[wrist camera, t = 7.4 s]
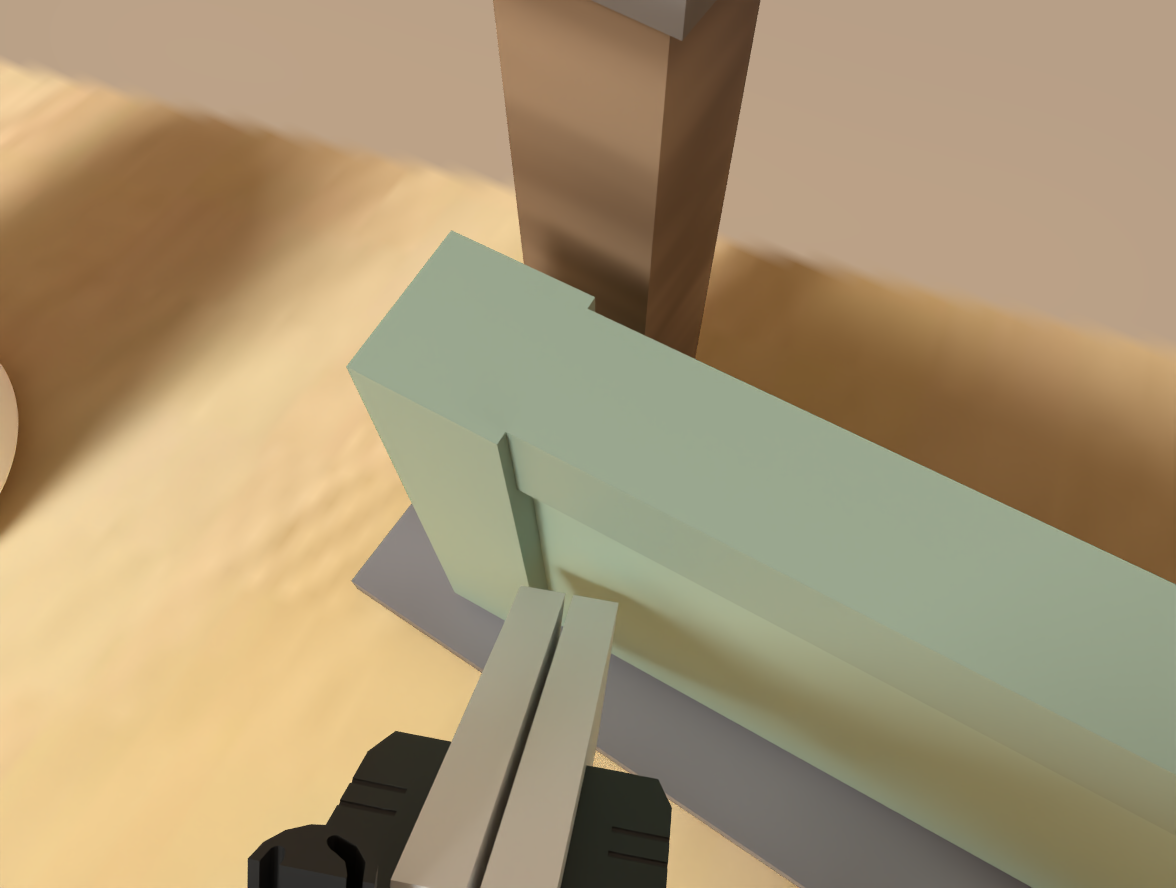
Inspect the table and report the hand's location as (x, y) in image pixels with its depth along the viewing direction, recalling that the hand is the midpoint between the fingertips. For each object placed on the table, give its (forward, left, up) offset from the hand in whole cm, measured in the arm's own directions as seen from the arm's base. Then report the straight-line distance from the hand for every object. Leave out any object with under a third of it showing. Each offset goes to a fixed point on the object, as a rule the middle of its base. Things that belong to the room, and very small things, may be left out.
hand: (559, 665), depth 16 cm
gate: (-5, -6, -4) cm, 9 cm away
